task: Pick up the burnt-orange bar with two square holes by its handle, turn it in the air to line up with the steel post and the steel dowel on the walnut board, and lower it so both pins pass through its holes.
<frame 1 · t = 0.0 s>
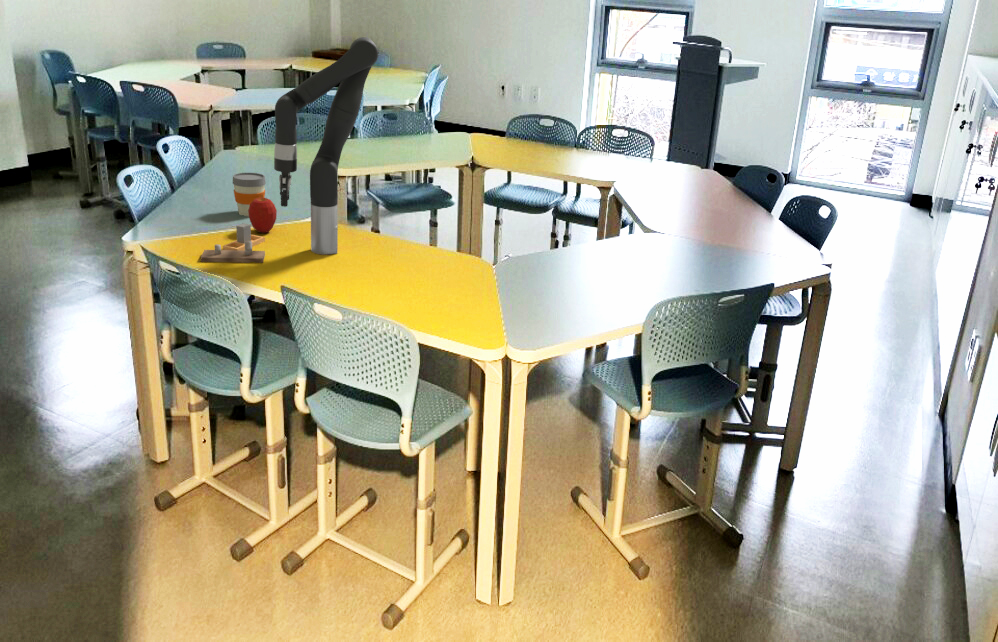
hand: (285, 202, 294), 17 cm above the table, fingers open, 8 cm apart
reusable coffee cup: (250, 213, 338), on the table
pin board: (233, 258, 289), on the table
hole bar: (244, 245, 302), on the table
apple: (263, 232, 318), on the table
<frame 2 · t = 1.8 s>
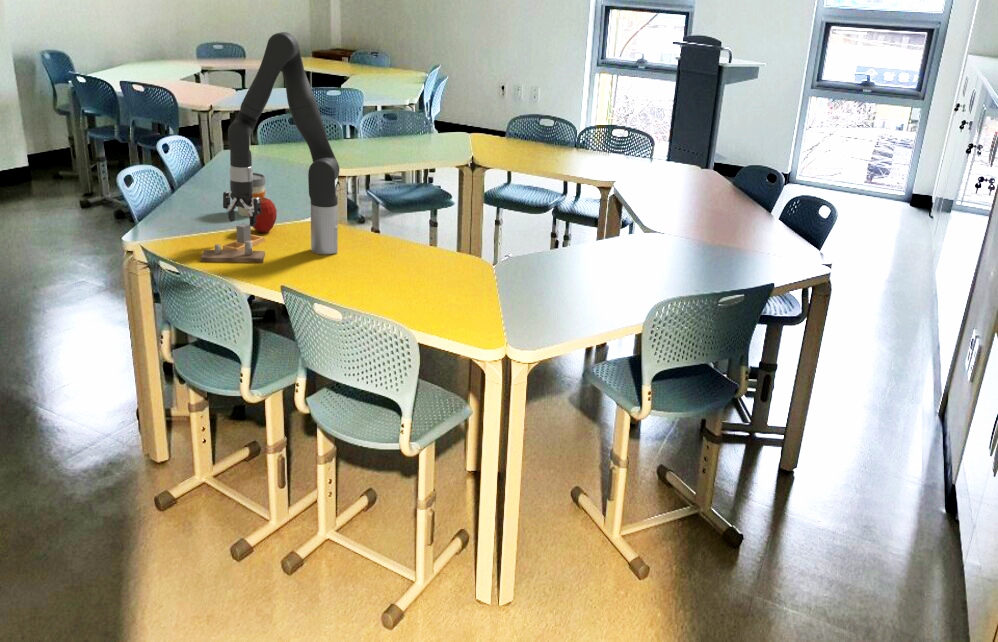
hand: (242, 223, 299), 8 cm above the table, fingers open, 8 cm apart
nothing on the table moved.
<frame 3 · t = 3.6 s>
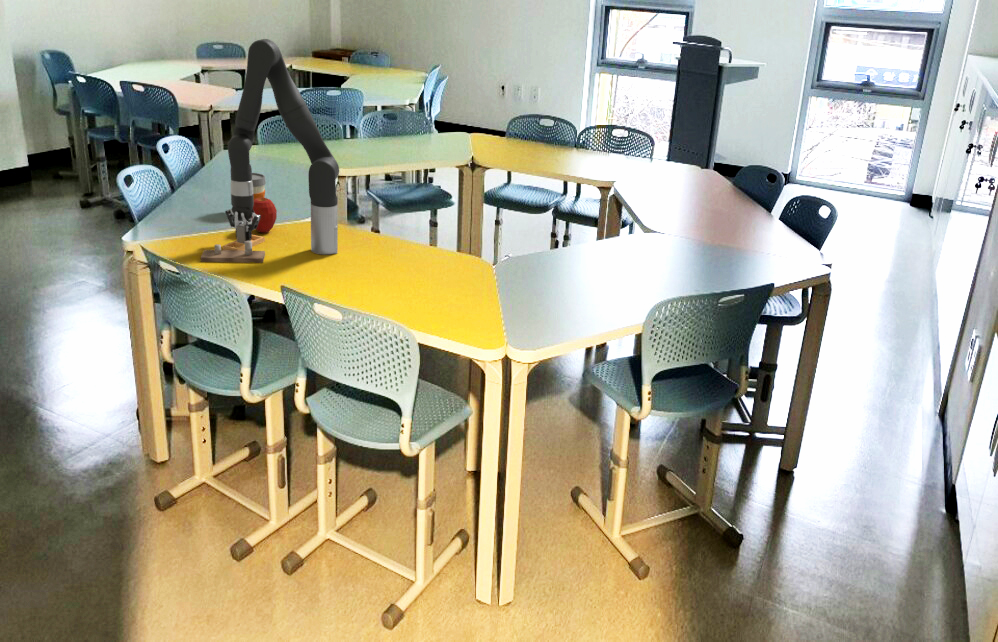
hand: (244, 239, 301), 2 cm above the table, fingers closed on hole bar, 3 cm apart
hole bar: (244, 245, 302), on the table, touching gripper
everything else where it was.
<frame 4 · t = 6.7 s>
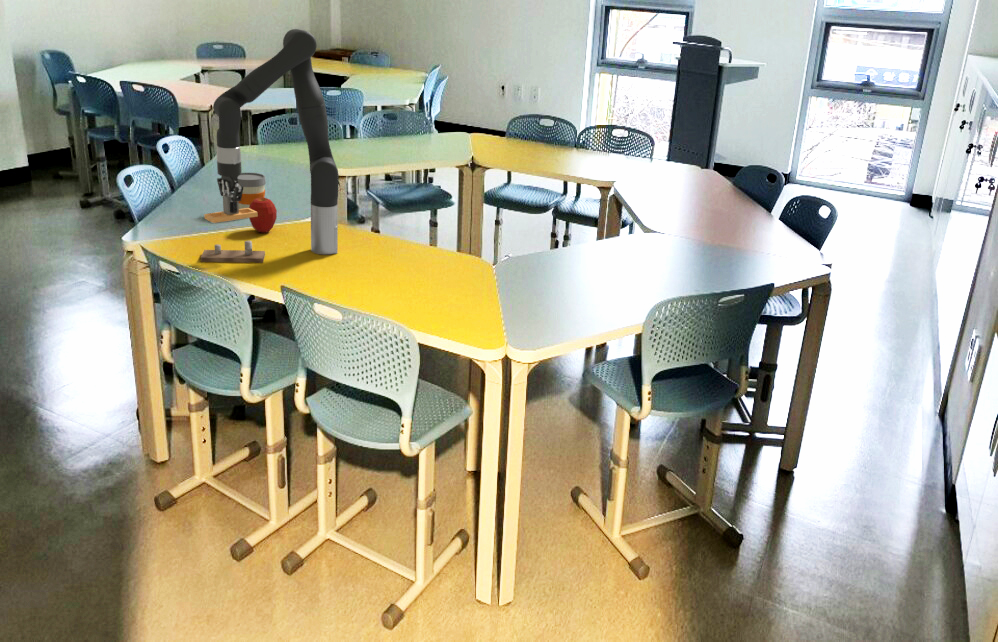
hand: (231, 211, 282), 16 cm above the table, fingers closed on hole bar, 3 cm apart
hole bar: (231, 217, 283), point 14 cm above the table, touching gripper
everything else where it was.
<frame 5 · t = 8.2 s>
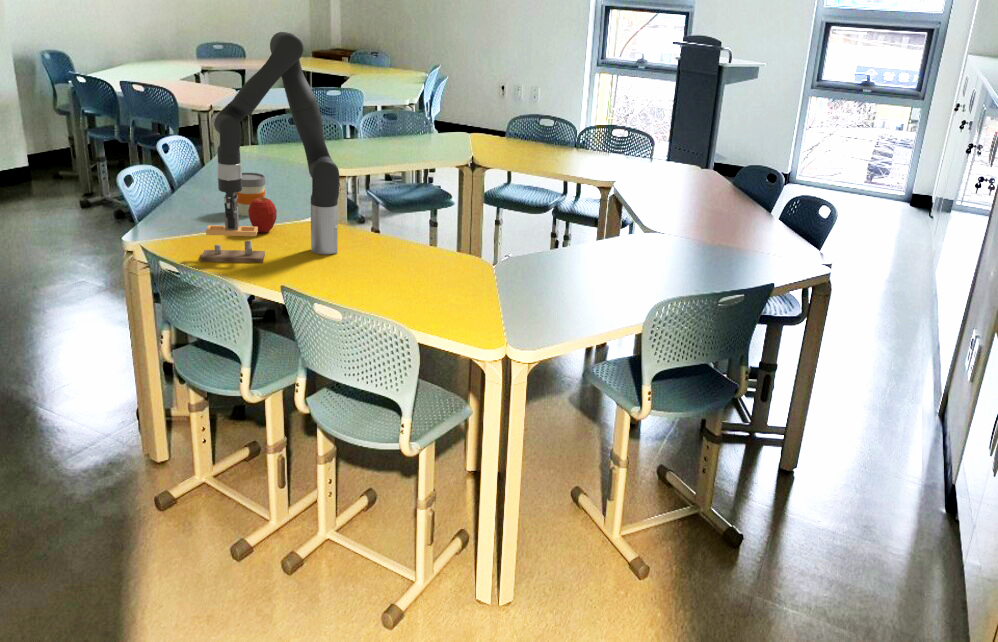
hand: (232, 226, 284), 11 cm above the table, fingers closed on hole bar, 3 cm apart
hole bar: (232, 232, 285), point 9 cm above the table, touching gripper
everything else where it was.
when the fingers open (5 cm above the table, at t = 9.8 s): hole bar stays where it is, resting on pin board.
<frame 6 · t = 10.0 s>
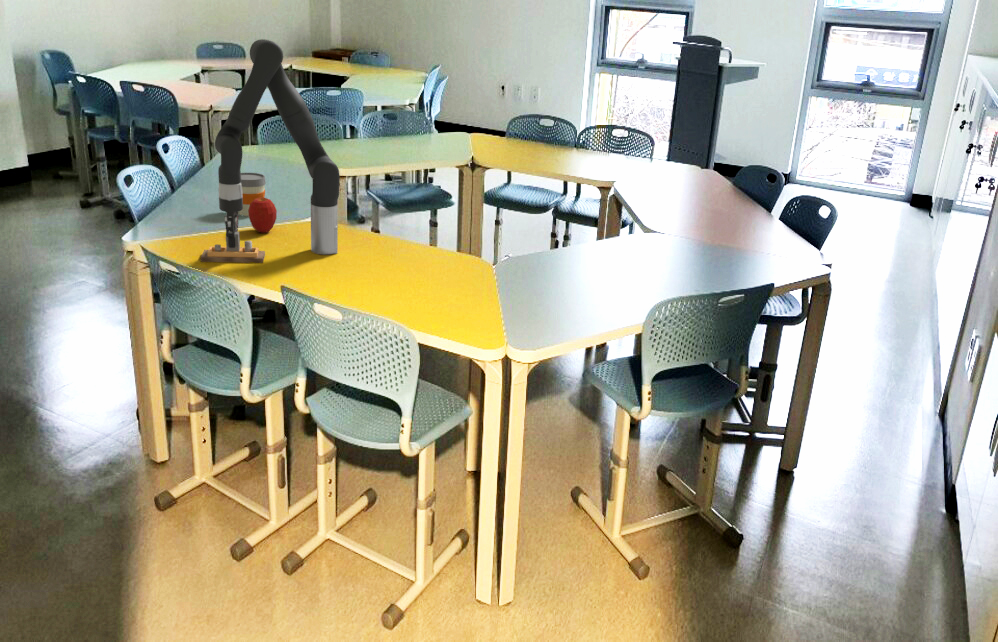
hand: (233, 244, 287), 5 cm above the table, fingers open, 4 cm apart
hole bar: (233, 254, 288), point 1 cm above the table, touching pin board
everything else where it was.
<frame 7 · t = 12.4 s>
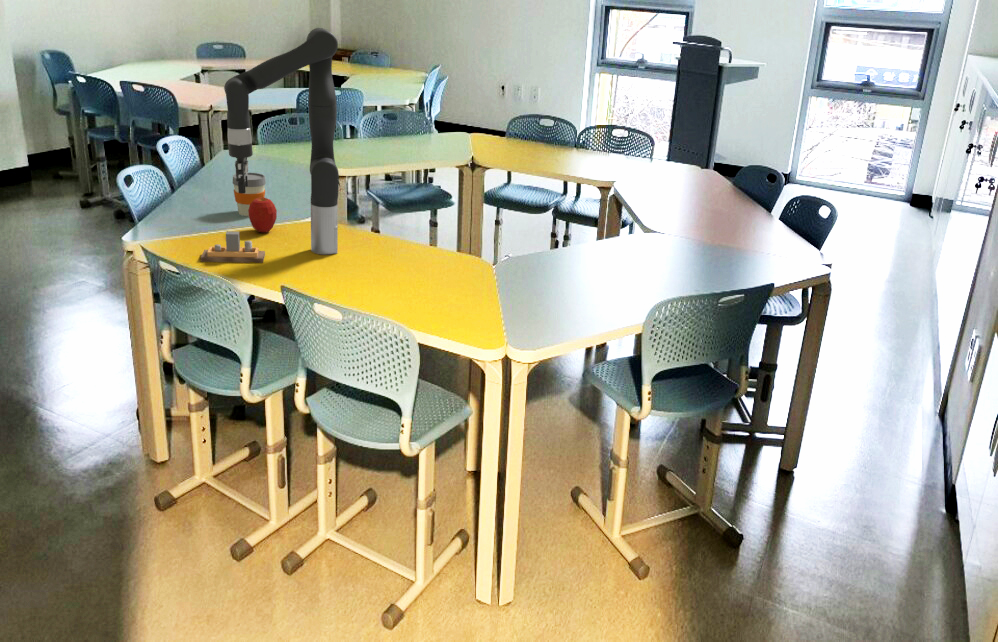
hand: (243, 189, 285), 23 cm above the table, fingers open, 8 cm apart
nothing on the table moved.
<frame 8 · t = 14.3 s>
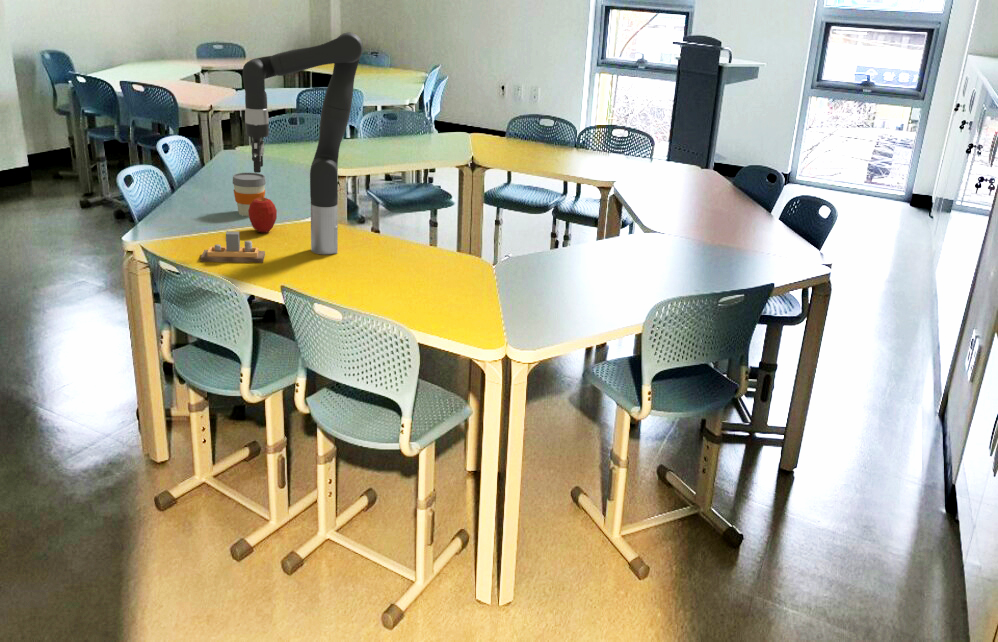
hand: (258, 169, 290), 28 cm above the table, fingers open, 8 cm apart
nothing on the table moved.
at the end: hole bar 0.0 cm off-centre on the pin board, point 1.5 cm above the pin board's base; hole bar tilted 0°; the gripper is holding nothing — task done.
